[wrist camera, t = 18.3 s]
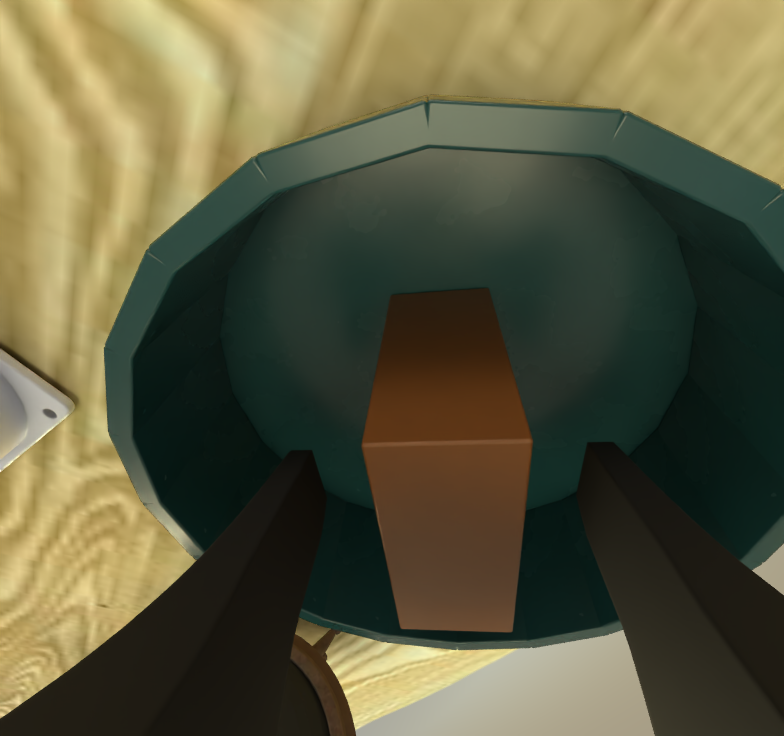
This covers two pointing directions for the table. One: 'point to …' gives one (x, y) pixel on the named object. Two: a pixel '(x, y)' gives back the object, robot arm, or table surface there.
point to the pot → (517, 323)
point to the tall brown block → (448, 462)
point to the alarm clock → (314, 694)
